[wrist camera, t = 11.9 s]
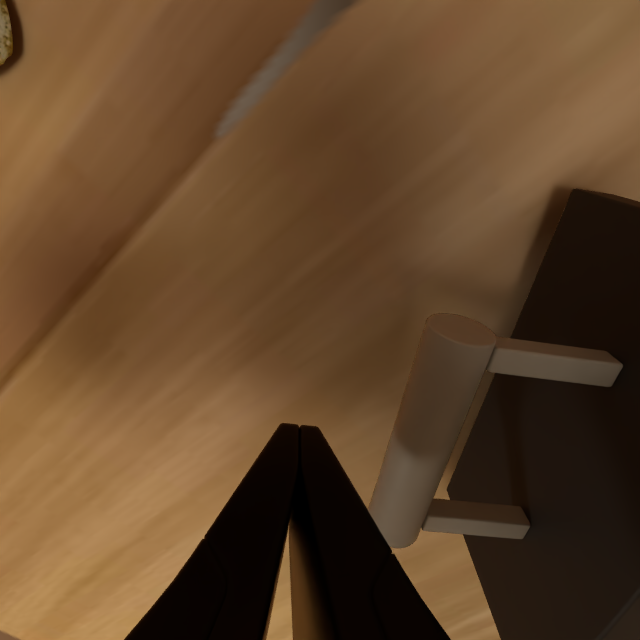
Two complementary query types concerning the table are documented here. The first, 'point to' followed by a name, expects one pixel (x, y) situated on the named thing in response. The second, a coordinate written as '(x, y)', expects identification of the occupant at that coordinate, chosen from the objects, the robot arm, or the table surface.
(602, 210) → the drawer
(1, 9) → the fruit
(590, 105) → the table surface
